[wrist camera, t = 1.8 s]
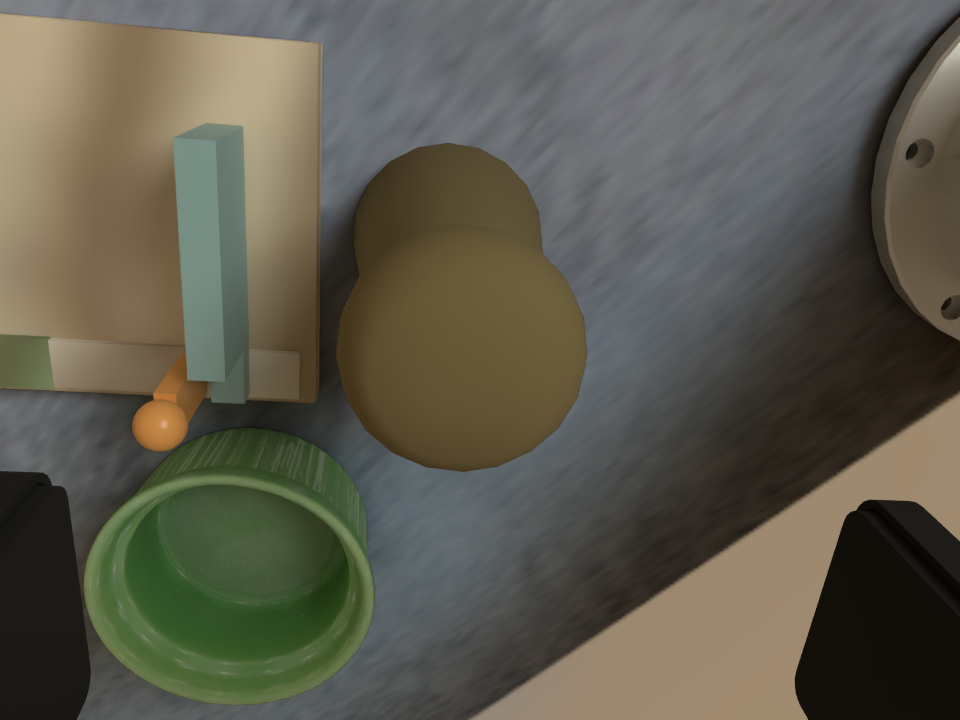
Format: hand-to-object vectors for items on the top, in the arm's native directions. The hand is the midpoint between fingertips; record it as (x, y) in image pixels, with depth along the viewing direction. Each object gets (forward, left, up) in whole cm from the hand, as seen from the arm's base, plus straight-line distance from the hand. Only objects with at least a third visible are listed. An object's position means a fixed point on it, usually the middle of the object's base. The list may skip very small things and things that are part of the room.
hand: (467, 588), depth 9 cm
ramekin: (+6, +11, -17) cm, 21 cm away
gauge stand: (+9, 0, -17) cm, 19 cm away
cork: (0, 0, -17) cm, 17 cm away
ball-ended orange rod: (+7, +4, -15) cm, 17 cm away
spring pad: (+6, +1, -15) cm, 17 cm away
